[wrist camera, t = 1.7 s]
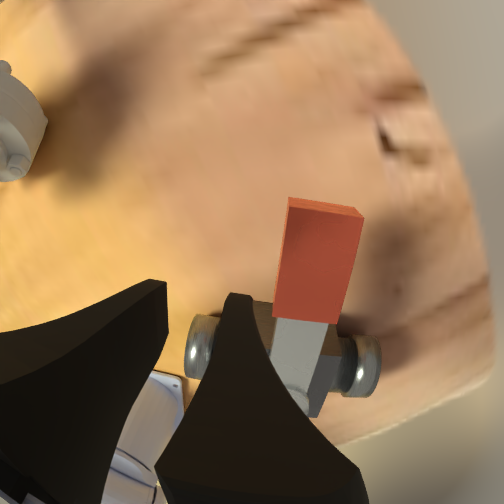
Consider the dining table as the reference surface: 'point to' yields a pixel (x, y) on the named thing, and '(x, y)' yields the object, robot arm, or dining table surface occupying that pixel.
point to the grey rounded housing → (18, 125)
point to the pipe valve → (327, 368)
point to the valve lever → (310, 287)
